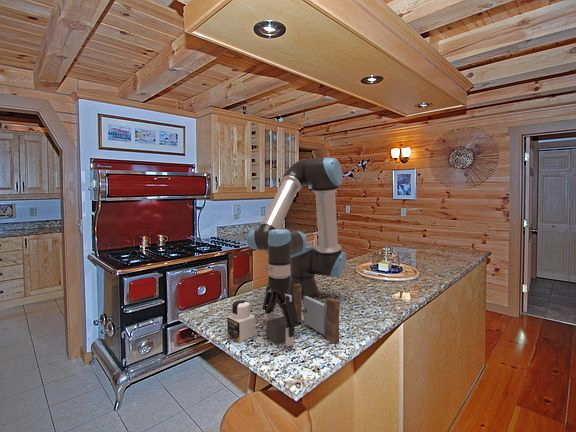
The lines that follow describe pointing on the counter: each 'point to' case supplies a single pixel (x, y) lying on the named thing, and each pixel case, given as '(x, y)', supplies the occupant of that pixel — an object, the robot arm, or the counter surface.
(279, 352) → the counter surface
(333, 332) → the doorframe
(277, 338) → the dark grey block
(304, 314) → the door
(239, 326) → the medicine bottle
